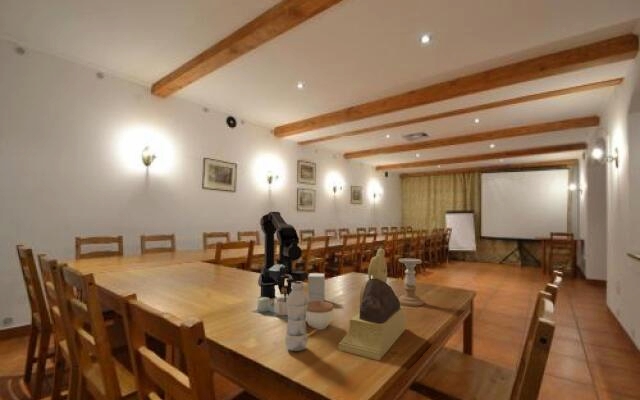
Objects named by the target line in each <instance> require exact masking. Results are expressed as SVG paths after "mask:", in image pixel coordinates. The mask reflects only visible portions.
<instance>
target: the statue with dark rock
mask: <svg viewBox="0 0 640 400" xmlns="http://www.w3.org/2000/svg"><path fill="white" fill-rule="evenodd" d="M385 254H386V251H385V249H384V248H382V247H379V248H378V249H377V251H376V255H375V256H373V257H371V259H370V263H369V265H368V269H367V275H368V276H367V277H368V280H365V281H364V282H363V283H362V285H361V289H360V292H359V293H360V294H359V312H358V313H357V314H356V315H354V316H353V317H351V318H350V319H349V328H348V331H347V332H346V334H345V336H344V337H343V338H342V339H341V341H339V342H338V350H339V351H342V352H345V353H350V354H353V355H358V356H361V357H364V358H369V359H373V360H377V361H380V360H381V359H382V358H383V357H384V355H385V354H386V353H387V352H388V350H390V348H391V347H392V345H394V344H395V342H396V341H398V339H399V338H400V336H401V335H402V334H403V333H404V331H405V330H406V328H407V327H406V321H405V317H404V307H403V306H401V304H400V302H399V299H398V296H397V295H396V292H395V291H394V290H393V288H392V287H391V286H390V285H389V284H388V283H387V281H388V266H387V265H388V264H387V260H386V258H385Z"/></svg>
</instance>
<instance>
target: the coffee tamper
mask: <svg viewBox="0 0 640 400" xmlns="http://www.w3.org/2000/svg"><path fill="white" fill-rule="evenodd" d="M287 287H288V284H286V285H285V284H284V285H283V286H282V288H281V293H282V295H283V297H284V302H286V297H287V295H288V293H287Z"/></svg>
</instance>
